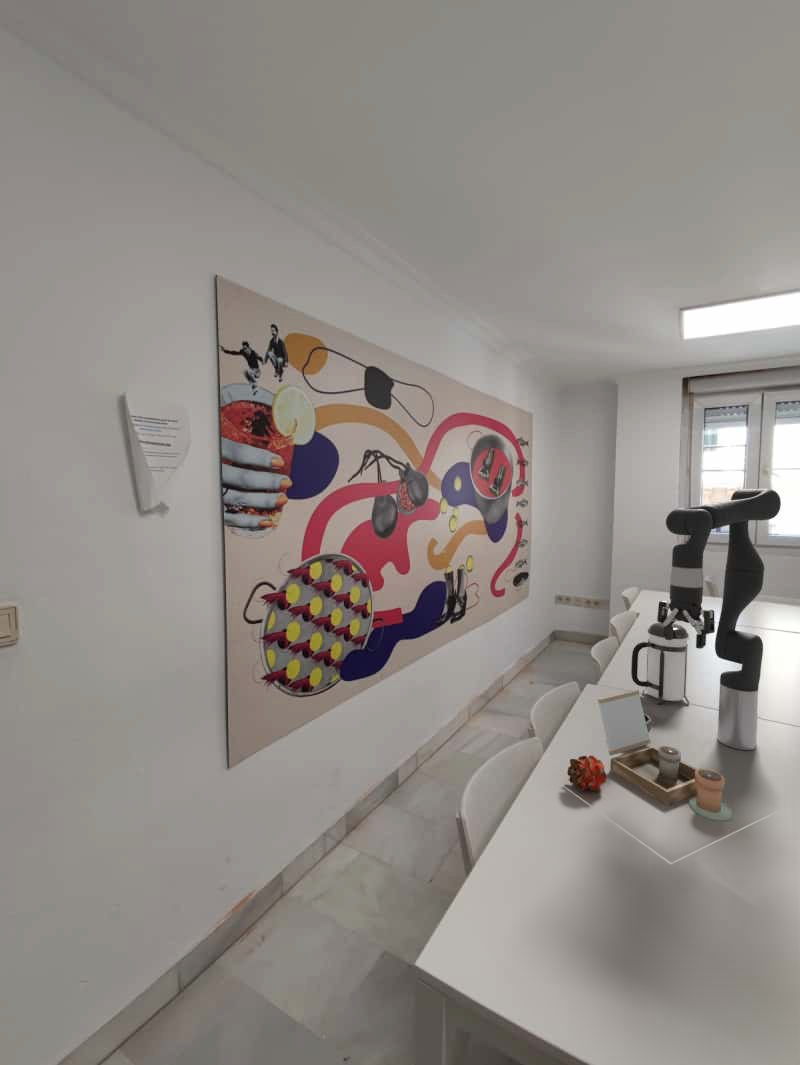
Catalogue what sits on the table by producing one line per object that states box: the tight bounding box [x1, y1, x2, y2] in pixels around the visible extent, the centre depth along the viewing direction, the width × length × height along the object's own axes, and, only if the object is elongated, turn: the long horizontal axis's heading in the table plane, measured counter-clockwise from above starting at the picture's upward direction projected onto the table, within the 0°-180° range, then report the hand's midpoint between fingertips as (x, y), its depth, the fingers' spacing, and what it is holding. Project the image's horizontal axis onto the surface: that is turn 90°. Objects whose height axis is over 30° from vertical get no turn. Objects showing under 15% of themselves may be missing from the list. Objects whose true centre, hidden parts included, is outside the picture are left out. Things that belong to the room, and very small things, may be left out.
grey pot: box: [657, 745, 682, 780], centre depth 124 cm, size 5×5×7 cm
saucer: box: [688, 795, 733, 822], centre depth 110 cm, size 8×8×1 cm
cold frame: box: [609, 745, 697, 807], centre depth 125 cm, size 16×23×12 cm
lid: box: [597, 690, 651, 756], centre depth 131 cm, size 15×14×1 cm
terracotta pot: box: [695, 767, 726, 813], centre depth 111 cm, size 6×6×7 cm
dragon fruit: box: [567, 755, 607, 793], centre depth 119 cm, size 8×8×12 cm
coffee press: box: [630, 622, 690, 706], centre depth 171 cm, size 17×16×30 cm
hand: (683, 643), depth 128 cm, fingers open, 8 cm apart
